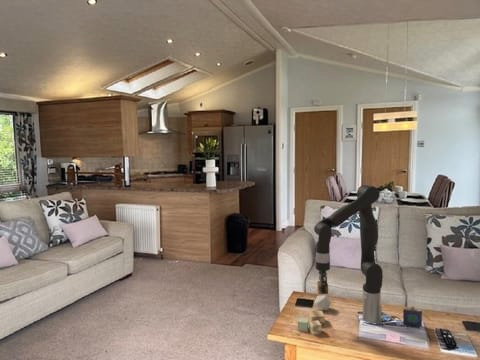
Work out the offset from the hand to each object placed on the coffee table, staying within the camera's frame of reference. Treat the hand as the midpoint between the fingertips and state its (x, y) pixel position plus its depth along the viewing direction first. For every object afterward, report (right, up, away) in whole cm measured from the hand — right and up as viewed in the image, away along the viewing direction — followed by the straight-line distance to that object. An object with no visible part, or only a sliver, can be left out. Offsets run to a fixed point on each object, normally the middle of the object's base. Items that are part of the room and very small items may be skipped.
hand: (322, 291), depth 195 cm
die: (+5, -18, +22) cm, 29 cm away
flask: (+48, -19, 0) cm, 51 cm away
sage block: (-11, -20, 0) cm, 23 cm away
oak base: (-2, -19, +7) cm, 21 cm away
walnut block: (0, 0, 0) cm, 0 cm away
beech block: (-5, -20, -4) cm, 21 cm away
